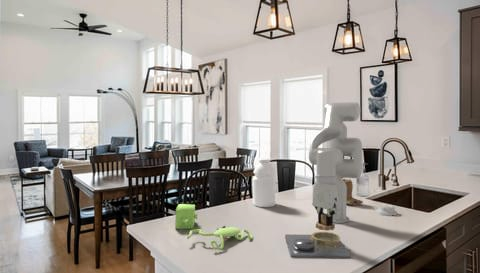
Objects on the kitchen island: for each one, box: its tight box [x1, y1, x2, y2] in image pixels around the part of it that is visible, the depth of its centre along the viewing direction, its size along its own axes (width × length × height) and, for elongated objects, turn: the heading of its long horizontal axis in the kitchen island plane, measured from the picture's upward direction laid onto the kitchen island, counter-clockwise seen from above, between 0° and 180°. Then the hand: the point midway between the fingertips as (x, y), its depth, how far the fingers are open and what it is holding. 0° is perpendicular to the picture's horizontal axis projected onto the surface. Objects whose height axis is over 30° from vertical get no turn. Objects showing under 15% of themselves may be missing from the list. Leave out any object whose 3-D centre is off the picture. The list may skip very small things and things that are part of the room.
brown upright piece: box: [342, 178, 364, 206], centre depth 202 cm, size 15×12×15 cm
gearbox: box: [174, 203, 198, 230], centre depth 160 cm, size 18×10×10 cm, turn 3°
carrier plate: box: [284, 231, 351, 258], centre depth 133 cm, size 20×22×4 cm
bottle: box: [252, 157, 277, 208], centre depth 200 cm, size 14×14×28 cm
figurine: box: [186, 225, 254, 254], centre depth 140 cm, size 18×27×6 cm
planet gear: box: [315, 212, 336, 232], centre depth 136 cm, size 8×8×6 cm
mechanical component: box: [376, 203, 398, 216], centre depth 181 cm, size 10×4×10 cm
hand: (325, 223), depth 136 cm, fingers closed on planet gear, 3 cm apart
